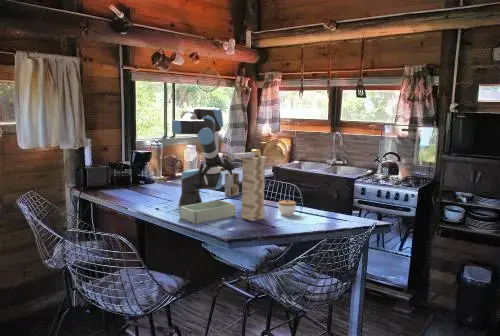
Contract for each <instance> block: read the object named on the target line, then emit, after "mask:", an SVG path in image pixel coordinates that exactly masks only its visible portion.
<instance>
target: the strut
mask: <svg viewBox="0 0 500 336" xmlns="http://www.w3.org/2000/svg"><path fill="white" fill-rule="evenodd" d="M261 156H262V152H261V149H257V148H256V149H255V148H253V149H251V152H239V153H233V159H237V160H239V158H251V157H261Z"/></svg>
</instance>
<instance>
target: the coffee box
mask: <svg viewBox="0 0 500 336" xmlns="http://www.w3.org/2000/svg"><path fill="white" fill-rule="evenodd" d="M239 178H240V174H239V173H237V172H232V175H231V179H232V180H230V177H229V173H225V174H224V196H225V195H227V196H226V197H230V196H231V197H235V196H239V195H240V192H239V190H240V179H239Z"/></svg>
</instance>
